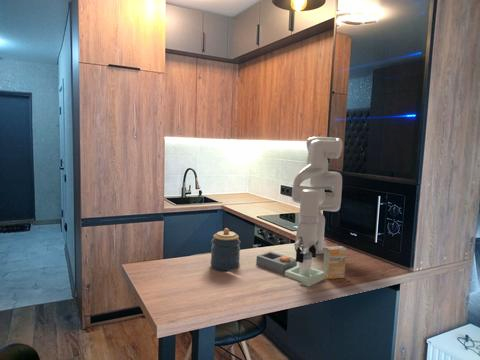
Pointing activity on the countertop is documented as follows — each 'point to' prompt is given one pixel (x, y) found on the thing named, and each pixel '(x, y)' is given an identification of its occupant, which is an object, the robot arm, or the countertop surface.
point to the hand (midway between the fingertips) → (305, 259)
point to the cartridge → (306, 264)
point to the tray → (308, 281)
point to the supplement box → (334, 262)
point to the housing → (275, 262)
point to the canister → (225, 250)
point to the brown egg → (285, 258)
